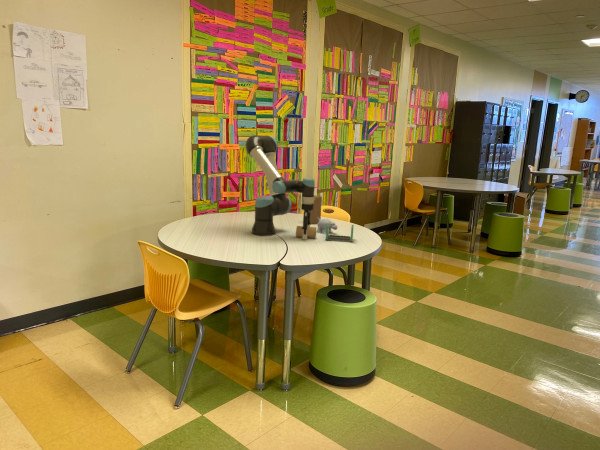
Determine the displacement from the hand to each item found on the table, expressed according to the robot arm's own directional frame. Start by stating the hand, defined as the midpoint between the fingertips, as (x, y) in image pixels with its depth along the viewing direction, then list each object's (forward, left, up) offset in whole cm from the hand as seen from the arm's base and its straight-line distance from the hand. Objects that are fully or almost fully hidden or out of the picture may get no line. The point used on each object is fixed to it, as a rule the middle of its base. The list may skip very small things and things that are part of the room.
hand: (306, 237), depth 270 cm
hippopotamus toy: (+11, +19, -1) cm, 23 cm away
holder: (+21, +1, 0) cm, 21 cm away
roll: (0, 0, 0) cm, 0 cm away
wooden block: (-2, +51, 0) cm, 51 cm away
